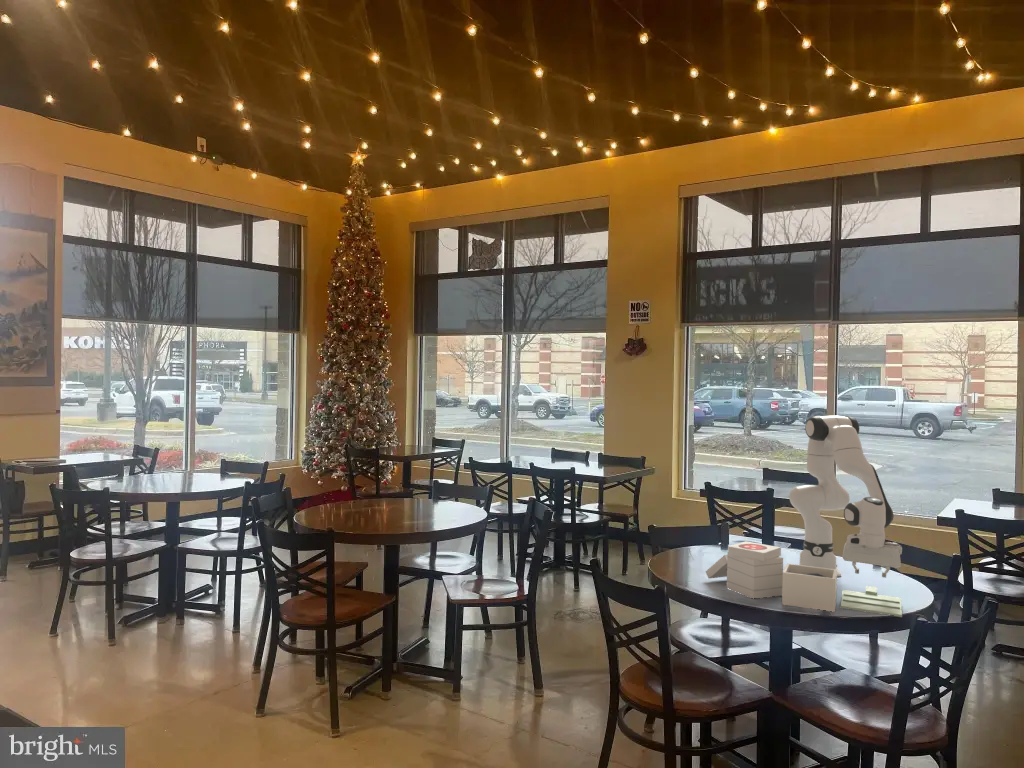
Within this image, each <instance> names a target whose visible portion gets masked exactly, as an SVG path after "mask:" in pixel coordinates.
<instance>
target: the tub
mask: <svg viewBox="0 0 1024 768" xmlns="http://www.w3.org/2000/svg"><path fill="white" fill-rule="evenodd" d="M816 573H817V574H820V575H823V576H825V577H820V576H812V575H804V574H816ZM837 582H838V577H837V570H836V569H828V568H819V567H811V566H803V565H799V564H794V563H786V564H785V567H784V568H783V584H782V596H781V604H782V605H783V606H789V607H790V606H792V607H797V608H798V607H799V608H805V609H810V608H813V609H812V610H817V609H820V610H819V611H823V610H826V611H825V612H830V611H832V613H836V608H837V607H836V604H837V596H838V595H837V589H838V588H837V587H838V586H837V585H838V583H837Z"/></svg>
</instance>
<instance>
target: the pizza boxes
mask: <svg viewBox="0 0 1024 768" xmlns="http://www.w3.org/2000/svg"><path fill="white" fill-rule="evenodd" d="M727 549H728V551H727V554H724V555H723V556H721V558H719V559H718V560H717V561H716V562H715V563H713V564H712V565H711V566H710V567H709V568H708V569H707V570H705V573H706V576H707V578H708V579H717V578H725V577H726V589H727V588H729V589H731V590H733V591H736V592H739V593H741V594H743V595H742V596H744V595H745V596H744V597H746V596H748V597H747V598H749V597H751V598H753V599H752V600H755V599H754V598H760V599H764V598H763V597H767V598H773V597H772V596H775V597H781V596H780V595H782V584H783V571H784V557H782V556H781V555H782V547H780V546H775V545H769V544H763V543H758V542H752V541H746V540H745V541H742V542H738V543H735V544H731V545H729V546H727ZM731 590H730V591H731ZM733 591H732V592H733ZM736 592H735V593H736ZM741 594H740V595H741ZM751 598H750V599H751Z"/></svg>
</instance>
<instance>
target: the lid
mask: <svg viewBox="0 0 1024 768" xmlns="http://www.w3.org/2000/svg"><path fill="white" fill-rule="evenodd" d="M902 607H903V606H902V598H901V597H897V596H890V595H884V594H883V595H882V594H878V586H877V587H876V586H870V585H866V586H865V592H861V591H853V590H847V589H842V593H841V602H840V609H842V608H847V609H846V610H849V609H853V610H852V611H856V610H859V611H858V612H863V611H866V612H865V613H869V612H871V613H870V614H876V613H882V614H881V615H883V614H890V615H894V616H893V617H897V618H903V610H902ZM890 615H889V616H890Z"/></svg>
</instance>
